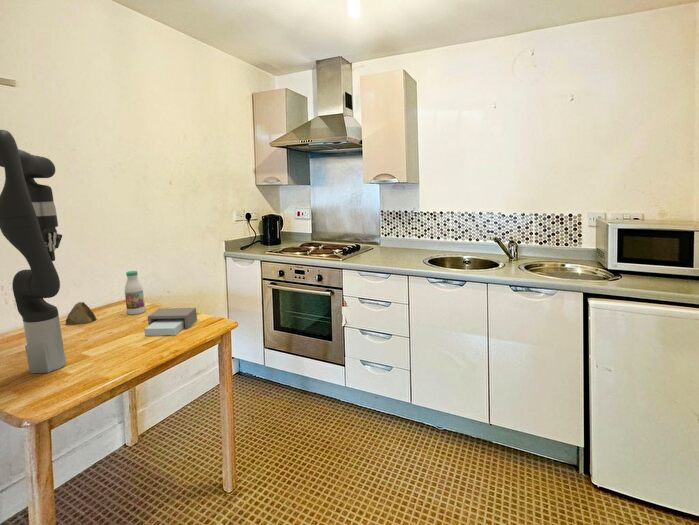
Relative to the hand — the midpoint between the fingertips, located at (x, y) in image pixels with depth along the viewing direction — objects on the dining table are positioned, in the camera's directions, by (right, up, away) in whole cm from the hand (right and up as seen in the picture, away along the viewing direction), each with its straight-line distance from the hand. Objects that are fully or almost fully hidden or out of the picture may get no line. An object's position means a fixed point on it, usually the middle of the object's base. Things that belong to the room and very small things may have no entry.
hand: (51, 261), depth 146 cm
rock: (-8, -27, +29) cm, 40 cm away
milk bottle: (+9, -25, +42) cm, 49 cm away
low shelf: (+35, -28, +24) cm, 51 cm away
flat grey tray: (+35, -28, +20) cm, 49 cm away
